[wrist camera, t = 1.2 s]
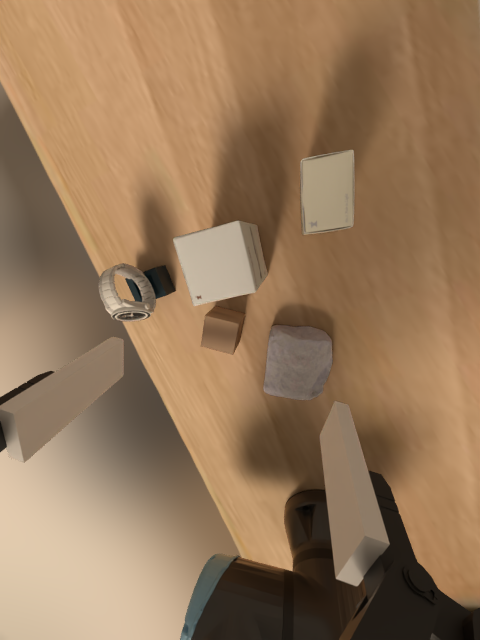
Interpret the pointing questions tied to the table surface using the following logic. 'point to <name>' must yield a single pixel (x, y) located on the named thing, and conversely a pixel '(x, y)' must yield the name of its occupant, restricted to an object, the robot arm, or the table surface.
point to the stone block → (297, 362)
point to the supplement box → (221, 261)
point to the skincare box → (327, 192)
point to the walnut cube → (222, 329)
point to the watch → (134, 291)
